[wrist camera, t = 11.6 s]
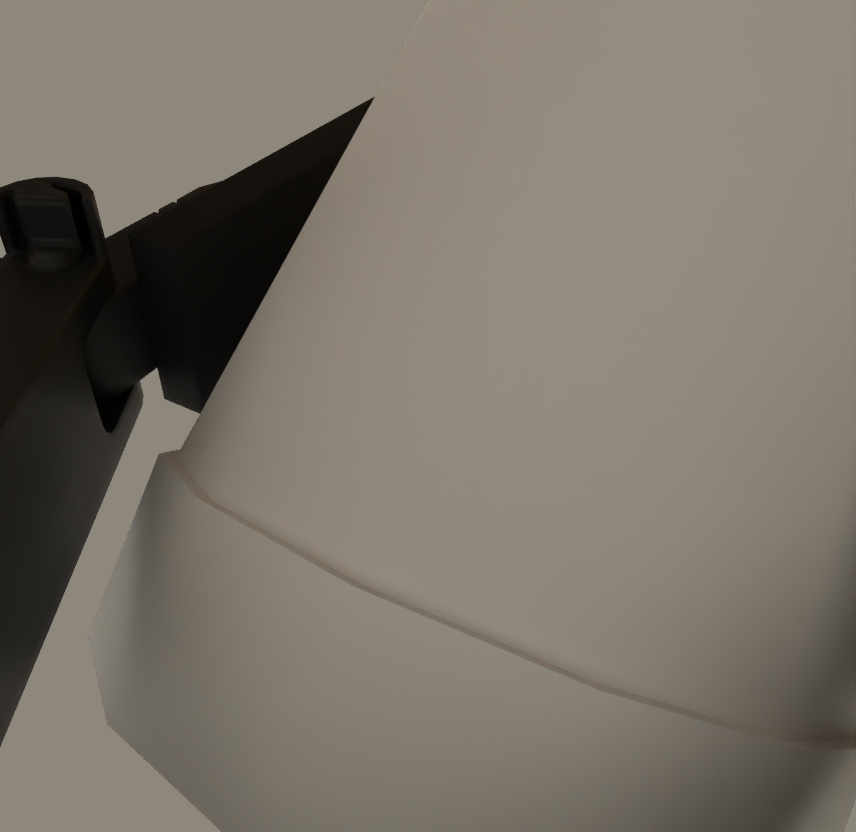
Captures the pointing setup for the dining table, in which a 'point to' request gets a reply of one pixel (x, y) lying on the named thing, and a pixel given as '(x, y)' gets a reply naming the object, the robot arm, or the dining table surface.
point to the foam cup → (531, 451)
